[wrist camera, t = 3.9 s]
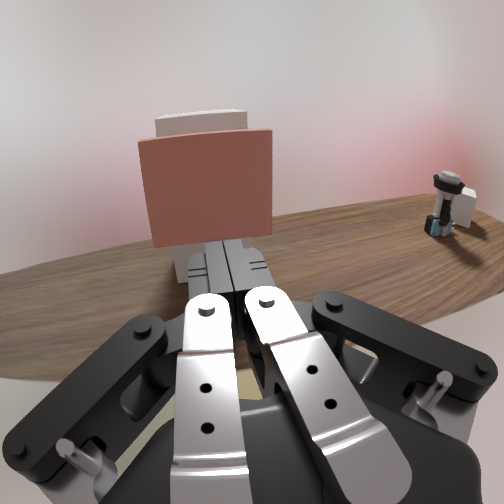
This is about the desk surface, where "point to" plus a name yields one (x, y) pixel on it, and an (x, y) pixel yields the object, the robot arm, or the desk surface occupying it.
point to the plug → (208, 185)
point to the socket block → (197, 124)
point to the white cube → (464, 207)
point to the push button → (444, 203)
